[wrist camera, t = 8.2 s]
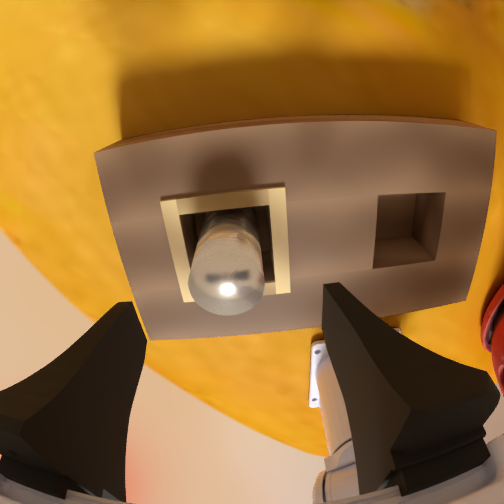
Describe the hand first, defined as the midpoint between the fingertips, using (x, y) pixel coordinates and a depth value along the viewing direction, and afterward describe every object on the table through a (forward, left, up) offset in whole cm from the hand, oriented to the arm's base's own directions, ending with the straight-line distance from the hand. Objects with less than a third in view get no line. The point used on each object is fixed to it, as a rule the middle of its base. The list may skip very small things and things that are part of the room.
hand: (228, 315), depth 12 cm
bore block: (0, -5, -9) cm, 11 cm away
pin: (0, 0, -9) cm, 9 cm away
